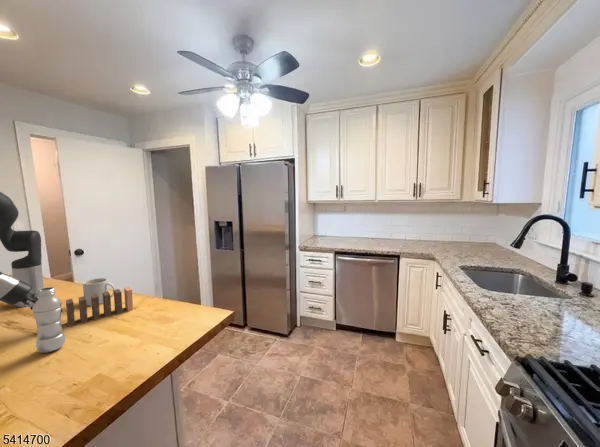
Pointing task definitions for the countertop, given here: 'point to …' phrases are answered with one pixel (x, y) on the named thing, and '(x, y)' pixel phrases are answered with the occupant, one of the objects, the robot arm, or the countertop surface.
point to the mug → (96, 289)
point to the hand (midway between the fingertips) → (60, 312)
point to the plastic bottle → (48, 321)
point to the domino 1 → (70, 312)
